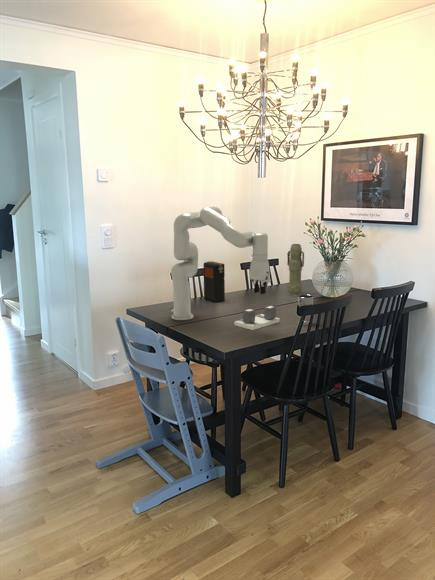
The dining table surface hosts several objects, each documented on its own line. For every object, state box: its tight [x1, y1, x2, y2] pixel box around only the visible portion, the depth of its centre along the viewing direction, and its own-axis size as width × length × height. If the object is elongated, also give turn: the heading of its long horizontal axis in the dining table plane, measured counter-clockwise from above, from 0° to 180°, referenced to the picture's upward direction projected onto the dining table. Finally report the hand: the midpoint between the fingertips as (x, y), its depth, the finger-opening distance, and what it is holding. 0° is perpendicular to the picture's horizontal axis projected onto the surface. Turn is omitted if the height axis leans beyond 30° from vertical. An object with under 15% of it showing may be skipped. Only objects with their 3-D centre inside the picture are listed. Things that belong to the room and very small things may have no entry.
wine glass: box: [297, 294, 314, 324], centre depth 250 cm, size 8×8×15 cm
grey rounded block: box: [242, 308, 256, 323], centre depth 246 cm, size 4×5×6 cm
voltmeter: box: [203, 260, 226, 303], centre depth 305 cm, size 16×9×25 cm, turn 34°
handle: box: [263, 305, 277, 320], centre depth 252 cm, size 4×5×6 cm
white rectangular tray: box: [233, 313, 281, 331], centre depth 251 cm, size 13×22×2 cm, turn 133°
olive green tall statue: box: [286, 243, 305, 296], centre depth 317 cm, size 9×12×35 cm
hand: (259, 292), depth 238 cm, fingers open, 3 cm apart
